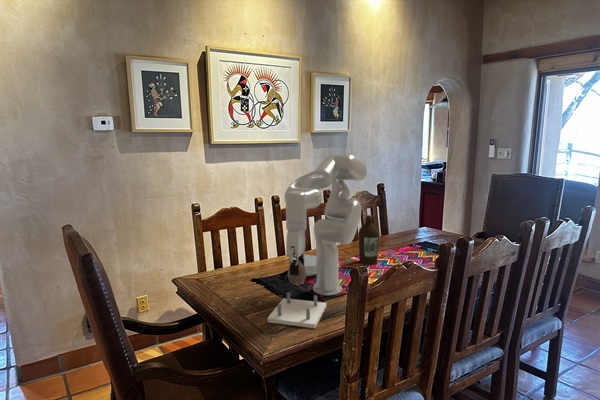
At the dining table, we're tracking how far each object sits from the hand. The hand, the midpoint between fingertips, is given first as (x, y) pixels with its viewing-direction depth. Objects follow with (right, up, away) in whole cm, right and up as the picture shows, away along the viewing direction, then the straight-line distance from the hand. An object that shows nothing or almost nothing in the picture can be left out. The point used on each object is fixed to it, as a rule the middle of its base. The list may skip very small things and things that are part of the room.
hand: (297, 270), depth 147 cm
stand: (0, -17, +3) cm, 17 cm away
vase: (0, -5, +1) cm, 5 cm away
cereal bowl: (+4, -10, +45) cm, 46 cm away
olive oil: (+37, -6, +60) cm, 71 cm away
